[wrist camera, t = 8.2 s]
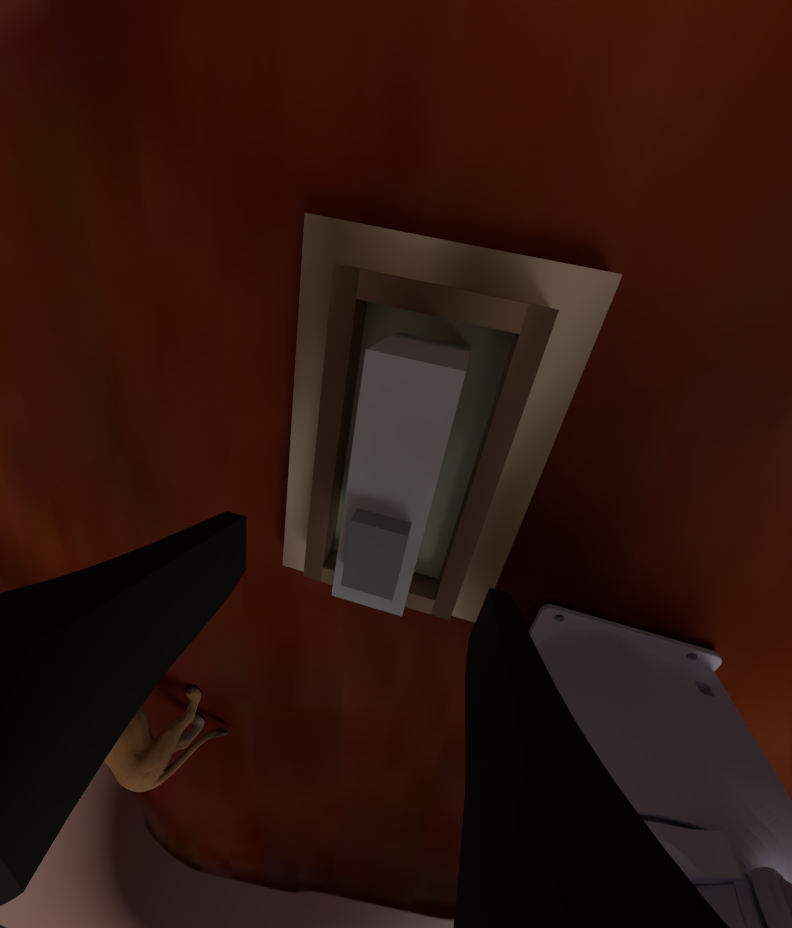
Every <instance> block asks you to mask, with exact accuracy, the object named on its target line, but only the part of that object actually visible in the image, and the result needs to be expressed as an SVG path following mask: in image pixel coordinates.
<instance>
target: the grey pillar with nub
mask: <svg viewBox="0 0 792 928" xmlns="http://www.w3.org/2000/svg"><path fill="white" fill-rule="evenodd" d="M470 349H471V348H470V347H466V346H461V345H456V344H452V343H447V342H443V341H438V340H433V339H429V338H424V337H420V336H415V335H410V334H406V333H401V332H398V333H396V334H394V335H392V336H390V337H388V338H386V339H384V340H382V341H380V342H379V343H377V344H375V345H373V346H371V347H369V348H367V349H366V351H365V358H364V365H363V373H362V380H361V387H360V394H359V401H358V409H357V416H356V423H355V430H354V437H353V445H352V452H351V459H350V466H349V474H348V481H347V488H346V495H345V502H344V510H343V517H342V524H341V531H340V539H339V546H338V553H337V560H336V567H335V575H334V582H333V589H332V596H335V597H339V598H342V599H346V600H349V601H352V602H356V603H359V604H362V605H366V606H369V607H372V608H376V609H379V610H382V611H386V612H389V613H392V614H396V615H399V616H402V615H403V611H404V607H405V603H406V599H407V595H408V592H409V588H410V584H411V580H412V576H413V573H414V569H415V565H416V561H417V557H418V553H419V550H420V546H421V542H422V538H423V534H424V531H425V527H426V523H427V519H428V515H429V512H430V508H431V504H432V500H433V496H434V492H435V489H436V485H437V481H438V477H439V473H440V470H441V466H442V462H443V458H444V454H445V450H446V447H447V443H448V439H449V435H450V431H451V428H452V424H453V420H454V416H455V412H456V408H457V405H458V401H459V397H460V393H461V389H462V386H463V382H464V378H465V374H466V370H467V365H468V359H469V354H470Z"/></svg>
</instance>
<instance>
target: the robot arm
mask: <svg viewBox="0 0 792 928" xmlns="http://www.w3.org/2000/svg"><path fill="white" fill-rule="evenodd" d="M245 570H246V517H245V516H242V515H238V514H235V513H232V512H228V511H227V512H224V513H222V514H219V515H217V516H214V517H212V518H210V519H207V520H205V521H203V522H200V523H198V524H196V525H194V526H191V527H189V528H187V529H185V530H182V531H180V532H178V533H175V534H173V535H171V536H168V537H166V538H164V539H161V540H159V541H157V542H154V543H152V544H149V545H147V546H144V547H142V548H139V549H137V550H134V551H132V552H129V553H126V554H124V555H121V556H119V557H116V558H114V559H111V560H108V561H106V562H103V563H100V564H97V565H94V566H91V567H89V568H86V569H83V570H80V571H76V572H73V573H70V574H67V575H64V576H61V577H57V578H54V579H51V580H48V581H44V582H40V583H37V584H33V585H29V586H25V587H22V588H18V589H14V590H10V591H7V592H3V593H0V906H1V905H3V904H5V903H7V902H9V901H11V900H12V899H14V898H15V897H17V896H18V895H19V894H21V893H23V892H24V890H25V889H26V887H27V885H28V883H29V882H30V880H31V878H32V876H33V875H34V873H35V871H36V870H37V868H38V866H39V865H40V863H41V861H42V860H43V858H44V856H45V854H46V853H47V851H48V850H49V848H50V846H51V845H52V843H53V841H54V840H55V838H56V837H57V835H58V833H59V832H60V830H61V828H62V826H63V825H64V823H65V822H66V820H67V818H68V817H69V815H70V813H71V812H72V810H73V808H74V807H75V805H76V804H77V802H78V801H79V799H80V798H81V796H82V795H83V793H84V791H85V790H86V788H87V787H88V785H89V783H90V782H91V780H92V779H93V777H94V776H95V774H96V772H97V771H98V769H99V768H100V766H101V765H102V763H103V762H104V760H105V759H106V757H107V756H108V754H109V753H110V751H111V750H112V748H113V747H114V745H115V744H116V742H117V741H118V739H119V738H120V736H121V735H122V733H123V732H124V730H125V729H126V727H127V726H128V724H129V723H130V721H131V720H132V719H133V717H134V716H135V714H136V713H137V711H138V710H139V709H140V707H141V706H142V704H143V703H144V701H145V700H146V699H147V697H148V696H149V694H150V693H151V692H152V690H153V689H154V687H155V686H156V684H157V683H158V682H159V681H160V679H161V678H162V677H163V675H164V674H165V673H166V672H167V670H168V669H169V668H170V667H171V665H172V664H173V663H174V662H175V661H176V659H177V658H178V657H179V656H180V655H181V654H182V652H183V651H184V650H185V649H186V648H187V646H188V645H189V644H190V643H191V642H192V641H193V639H194V638H195V637H196V636H197V635H198V633H199V632H200V631H201V630H202V629H203V627H204V626H205V625H206V624H207V623H208V622H209V620H210V619H211V618H212V617H213V616H214V614H215V613H216V612H217V611H218V609H219V608H220V607H221V606H222V605H223V603H224V602H225V601H226V600H227V598H228V597H229V595H230V594H231V592H232V591H233V589H234V588H235V586H236V585H237V583H238V581H239V580H240V578H241V577H242V575H243V573H244V572H245ZM556 615H561V616H556ZM689 653H690V654H689ZM721 663H722V659H721V658H720V656H719V655H718V653H717V652H715V651H713V650H709V649H706V648H702V647H699V646H695V645H692V644H688V643H685V642H681V641H678V640H674V639H671V638H667V637H664V636H660V635H657V634H653V633H650V632H646V631H643V630H640V629H636V628H633V627H629V626H626V625H622V624H619V623H615V622H612V621H608V620H605V619H601V618H598V617H594V616H591V615H587V614H584V613H580V612H577V611H573V610H570V609H566V608H563V607H559V606H556V605H553V604H545V605H543V606H542V607H541V608H540V610H539V612H538V614H537V616H536V618H535V620H534V622H533V624H532V626H531V628H530V630H529V631H528V629H527V626H526V624H525V622H524V620H523V618H522V615H521V613H520V611H519V608H518V606H517V604H516V601H515V599H514V597H513V595H512V594H510V593H507V592H503V591H500V590H496V589H493V588H489V590H488V592H487V595H486V597H485V600H484V602H483V605H482V607H481V610H480V612H479V615H478V617H477V620H476V622H475V625H474V627H473V630H472V632H471V635H470V637H469V643H468V652H467V662H466V672H465V736H466V779H465V800H464V814H463V827H462V840H461V852H460V864H459V875H458V887H457V898H456V908H455V918H454V928H792V801H791V799H790V797H789V795H788V793H787V792H786V790H785V788H784V786H783V784H782V783H781V781H780V779H779V778H778V776H777V774H776V773H775V771H774V770H773V768H772V766H771V765H770V763H769V761H768V760H767V758H766V756H765V755H764V753H763V751H762V750H761V748H760V746H759V745H758V743H757V742H756V740H755V738H754V737H753V735H752V733H751V732H750V730H749V728H748V727H747V725H746V723H745V722H744V720H743V718H742V717H741V715H740V714H739V712H738V710H737V709H736V707H735V705H734V704H733V702H732V700H731V699H730V697H729V695H728V694H727V692H726V690H725V689H724V687H723V686H722V684H721V682H720V681H719V679H718V677H717V676H716V674H715V672H714V671H715V670H716V669H717V668H718V667H719V666H720V665H721ZM0 928H6V927H4V926H1V925H0Z"/></svg>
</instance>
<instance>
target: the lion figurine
mask: <svg viewBox="0 0 792 928" xmlns="http://www.w3.org/2000/svg"><path fill="white" fill-rule="evenodd" d="M186 696H187V697H188V698H189V705H188V708H187V710H186V711H185V713H184V714H183V715H182V716H181V717H180V718H179V719H178V720H177V721H175V722H174V723H173V724H171V725H170V726H169V727H167V728H166V729H165V730H164V731H163V732H162V733H160V734H159V735H158V736H157V737H156V738H153V737H152V734H151V729H150V722H149V718H148V715H147V713H146V711H145V710H144V708H143V707H142V706H141V707H140V709H139V710H138V711H137V713H136V714H135V716H134V717H133V719H132V720H131V721H130V723H129V724H128V726H127V727H126V729H125V730H124V732H123V733H122V735H121V736H120V738H119V739H118V741H117V742H116V744H115V745H114V747H113V748H112V750H111V751H110V753H109V754H108V756H107V757H106V759H105V760H104V762H105V763H106V764H107V765H108V766H109V767H110V768H111V770H112V772H113V774H114V775H115V777H116V779H117V781H118V782H119V783H120V784H121V785H122V786H123V787H125V788H127V789H129V790H131V791H134V792H143V791H147V790H150V789H153V788H155V787H157V786H158V785H160V784H161V783H163V782H164V781H165V780H167V779H168V778H169V777H170V776H171V775H172V774H173V773H174V772H175V771H176V770H177V769H178V768H179V767H180V766H181V765H182V764H183V763H184V762H185V761H186V760H187V759H188V757H189V756H190V755H191V754H192V753H193V752H194V751H195V750H196V749H197V748H198V747H199V746H200V745H201V744H203V743H204V742H205V741H207V740H208V739H210V738H214V737H219V736H222V735H225V734H227V733H228V732H227V731H226V730H225V729H224V728H221V727H219V728H215V729H213V730H211V731H209V732H208V733H206V734H205V735H203V736H202V737H201V738H199V739H198V740H197V741H196V742H195V743H194V744H193V745H191V746H190V747H189V748H188V749H187V750H186V751H185V752H184V753H183V754H182V755H181V756H180V757H178V758H177V759H176V760H175V761H174V762H173V763H172V764H171V765H170V766H169V767H168V768H166V769H165V767H166V765H167V764H168V762H169V760H170V758H171V756H172V754H173V753H174V752H175V751H177V750H180V749H184V748H186V747H187V746H188V745H189V744H190V743H191V742H192V741H193V740H194V738H195V737H196V736H197V735H198V734H199V733H200V731H201V730H202V728H203V726H204V719H203V718H202V717H201V716H200V715H198V714H196V710H197V706H198V703H199V701H200V698H201V692H200V690H199V689H198V688H196V687H191V688H189V689H188V690H187V692H186ZM190 723H192V725H193V726H192V728H191V730H190V731H188V732H186V733H183V734H181V733H182V732H183V730H184V729H185V727H186V726H187V725H188V724H190ZM164 769H165V770H164Z"/></svg>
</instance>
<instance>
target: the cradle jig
mask: <svg viewBox="0 0 792 928" xmlns="http://www.w3.org/2000/svg"><path fill="white" fill-rule="evenodd" d="M622 275H623V274H618V273H612V272H607V271H602V270H597V269H592V268H587V267H582V266H576V265H571V264H566V263H561V262H556V261H551V260H546V259H541V258H535V257H530V256H525V255H520V254H515V253H510V252H505V251H499V250H494V249H489V248H484V247H479V246H474V245H469V244H463V243H458V242H453V241H448V240H443V239H438V238H433V237H427V236H422V235H417V234H412V233H407V232H402V231H397V230H391V229H386V228H381V227H376V226H371V225H366V224H361V223H356V222H350V221H345V220H340V219H335V218H330V217H325V216H320V215H314V214H309V213H305V216H304V232H303V248H302V264H301V280H300V296H299V312H298V328H297V344H296V360H295V376H294V392H293V408H292V424H291V440H290V456H289V473H288V489H287V505H286V521H285V537H284V553H283V565H284V566H287V567H290V568H294V569H297V570H300V571H304V573H303V576H304V577H307V578H311V579H314V580H317V581H321V582H324V583H327V584H331V585H333V582H334V575H335V567H336V560H337V553H338V546H339V539H340V531H341V524H342V517H343V510H344V502H345V495H346V488H347V481H348V474H349V466H350V459H351V452H352V445H353V437H354V430H355V423H356V416H357V409H358V401H359V394H360V387H361V380H362V373H363V365H364V358H365V351H366V349H367V348H369V347H371V346H373V345H375V344H377V343H379V342H380V341H382V340H384V339H386V338H388V337H390V336H392V335H394V334H396V333H398V332H401V333H406V334H410V335H415V336H420V337H424V338H429V339H433V340H438V341H443V342H447V343H452V344H456V345H461V346H466V347H470V348H471V349H470V354H469V359H468V365H467V370H466V374H465V378H464V382H463V386H462V389H461V393H460V397H459V401H458V405H457V408H456V412H455V416H454V420H453V424H452V428H451V431H450V435H449V439H448V443H447V447H446V450H445V454H444V458H443V462H442V466H441V470H440V473H439V477H438V481H437V485H436V489H435V492H434V496H433V500H432V504H431V508H430V512H429V515H428V519H427V523H426V527H425V531H424V534H423V538H422V542H421V546H420V550H419V553H418V557H417V561H416V565H415V569H414V573H413V576H412V580H411V584H410V588H409V592H408V595H407V599H406V603H405V607H407V608H411V609H414V610H417V611H421V612H424V613H427V614H431V615H434V616H437V617H441V618H444V619H447V620H450V618H451V616H455V617H458V618H461V619H465V620H468V621H471V622H476V620H477V617H478V615H479V612H480V610H481V607H482V605H483V602H484V600H485V597H486V595H487V592H488V590H489V588H493V589H495V587H496V584H497V582H498V579H499V577H500V574H501V572H502V569H503V567H504V564H505V562H506V560H507V557H508V555H509V552H510V550H511V547H512V545H513V542H514V540H515V537H516V535H517V533H518V530H519V528H520V525H521V523H522V520H523V518H524V515H525V513H526V510H527V508H528V506H529V503H530V501H531V498H532V496H533V493H534V491H535V488H536V486H537V483H538V481H539V479H540V476H541V474H542V471H543V469H544V466H545V464H546V461H547V459H548V456H549V454H550V451H551V449H552V447H553V444H554V442H555V439H556V437H557V434H558V432H559V429H560V427H561V424H562V422H563V420H564V417H565V415H566V412H567V410H568V407H569V405H570V402H571V400H572V397H573V395H574V393H575V390H576V388H577V385H578V383H579V380H580V378H581V375H582V373H583V370H584V368H585V366H586V363H587V361H588V358H589V356H590V353H591V351H592V348H593V346H594V343H595V341H596V338H597V336H598V334H599V331H600V329H601V326H602V324H603V321H604V319H605V316H606V314H607V311H608V309H609V307H610V304H611V302H612V299H613V297H614V294H615V292H616V289H617V287H618V284H619V282H620V280H621V277H622Z"/></svg>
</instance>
